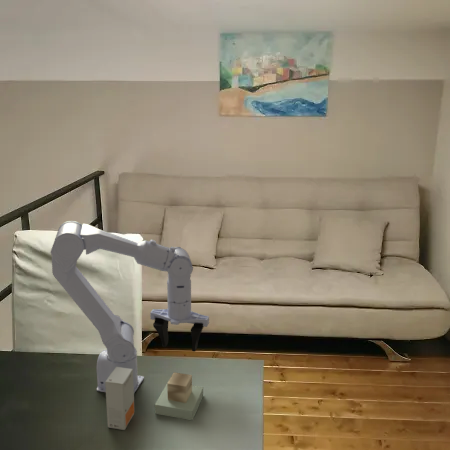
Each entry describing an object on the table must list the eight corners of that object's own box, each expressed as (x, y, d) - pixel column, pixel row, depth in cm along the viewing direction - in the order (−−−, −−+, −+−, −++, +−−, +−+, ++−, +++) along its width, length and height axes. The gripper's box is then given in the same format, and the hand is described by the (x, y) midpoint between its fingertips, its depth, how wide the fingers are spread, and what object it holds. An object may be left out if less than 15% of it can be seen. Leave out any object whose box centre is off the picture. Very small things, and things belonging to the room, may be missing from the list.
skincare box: (125, 431, 110) (122, 384, 107) (107, 428, 111) (104, 381, 107) (135, 413, 116) (133, 368, 112) (118, 410, 117) (115, 365, 113)
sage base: (155, 413, 116) (154, 404, 115) (168, 390, 124) (168, 381, 123) (192, 420, 114) (192, 411, 113) (203, 395, 122) (203, 387, 122)
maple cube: (167, 399, 117) (167, 383, 115) (174, 388, 121) (173, 372, 120) (186, 403, 116) (185, 386, 114) (191, 391, 120) (191, 375, 119)
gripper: (144, 301, 119) (146, 351, 123) (203, 309, 116) (203, 360, 120) (155, 289, 126) (157, 337, 130) (211, 296, 123) (211, 344, 127)
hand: (179, 347), depth 126 cm, fingers open, 7 cm apart
